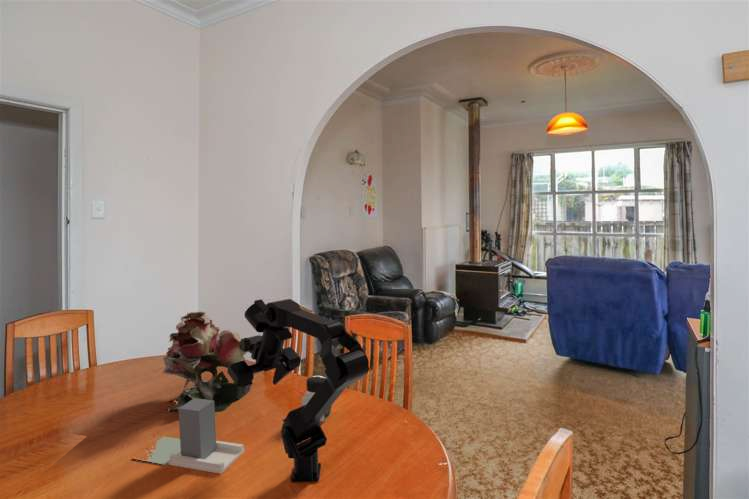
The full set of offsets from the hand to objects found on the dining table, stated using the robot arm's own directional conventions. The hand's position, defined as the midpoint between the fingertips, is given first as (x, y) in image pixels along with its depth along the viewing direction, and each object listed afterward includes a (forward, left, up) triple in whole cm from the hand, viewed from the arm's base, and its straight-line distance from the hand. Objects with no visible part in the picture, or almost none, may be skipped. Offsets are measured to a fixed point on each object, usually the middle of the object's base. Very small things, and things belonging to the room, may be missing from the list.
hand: (259, 389), depth 113 cm
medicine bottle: (+15, -14, -16) cm, 26 cm away
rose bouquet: (+31, +26, -16) cm, 43 cm away
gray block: (-5, +15, -15) cm, 22 cm away
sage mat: (-1, +25, -15) cm, 30 cm away
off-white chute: (-6, +12, -15) cm, 20 cm away
